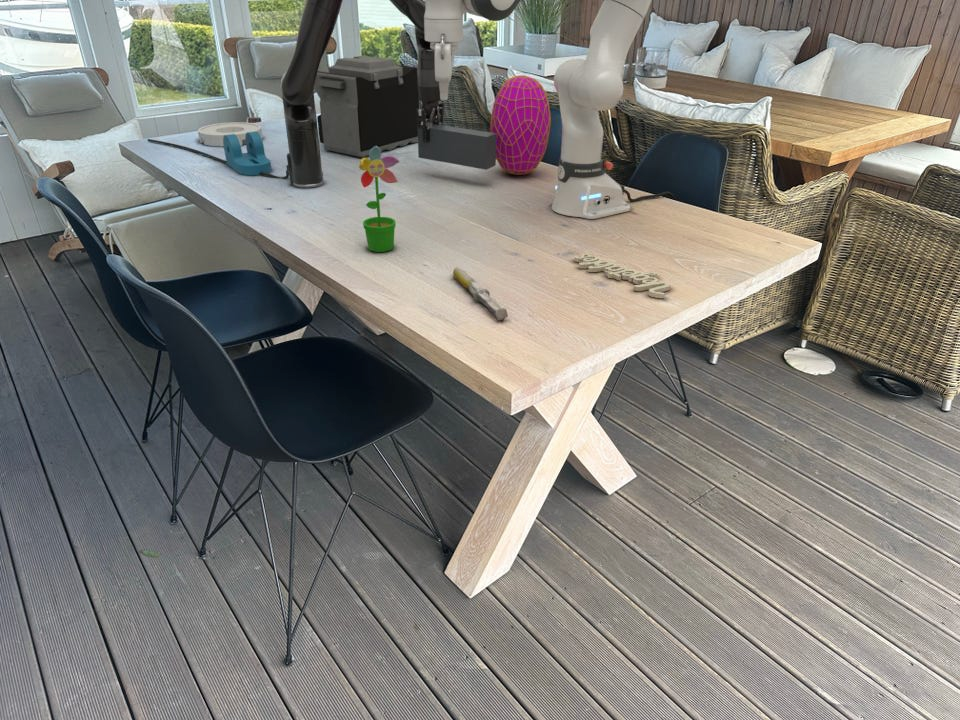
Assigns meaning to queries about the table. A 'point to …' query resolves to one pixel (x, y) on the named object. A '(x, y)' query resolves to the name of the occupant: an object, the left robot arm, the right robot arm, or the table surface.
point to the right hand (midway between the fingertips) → (444, 96)
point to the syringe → (479, 293)
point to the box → (459, 146)
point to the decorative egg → (520, 124)
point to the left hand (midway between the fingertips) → (431, 139)
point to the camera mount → (246, 154)
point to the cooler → (367, 105)
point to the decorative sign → (625, 274)
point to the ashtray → (226, 132)
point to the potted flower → (378, 227)
